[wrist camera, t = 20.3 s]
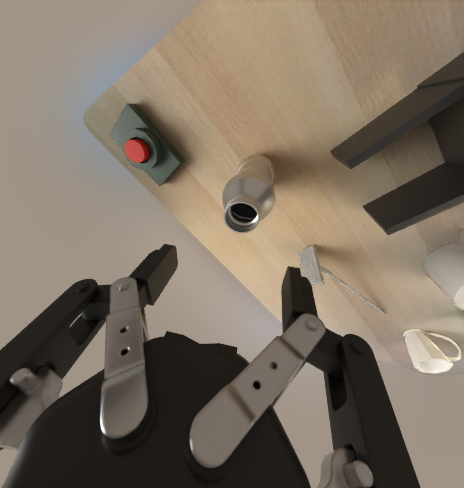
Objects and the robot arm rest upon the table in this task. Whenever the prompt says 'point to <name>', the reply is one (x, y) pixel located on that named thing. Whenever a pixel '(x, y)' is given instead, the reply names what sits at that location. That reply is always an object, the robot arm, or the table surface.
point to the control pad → (161, 151)
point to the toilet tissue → (448, 269)
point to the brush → (317, 269)
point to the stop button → (137, 150)
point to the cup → (428, 352)
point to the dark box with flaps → (400, 123)
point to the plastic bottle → (249, 194)
